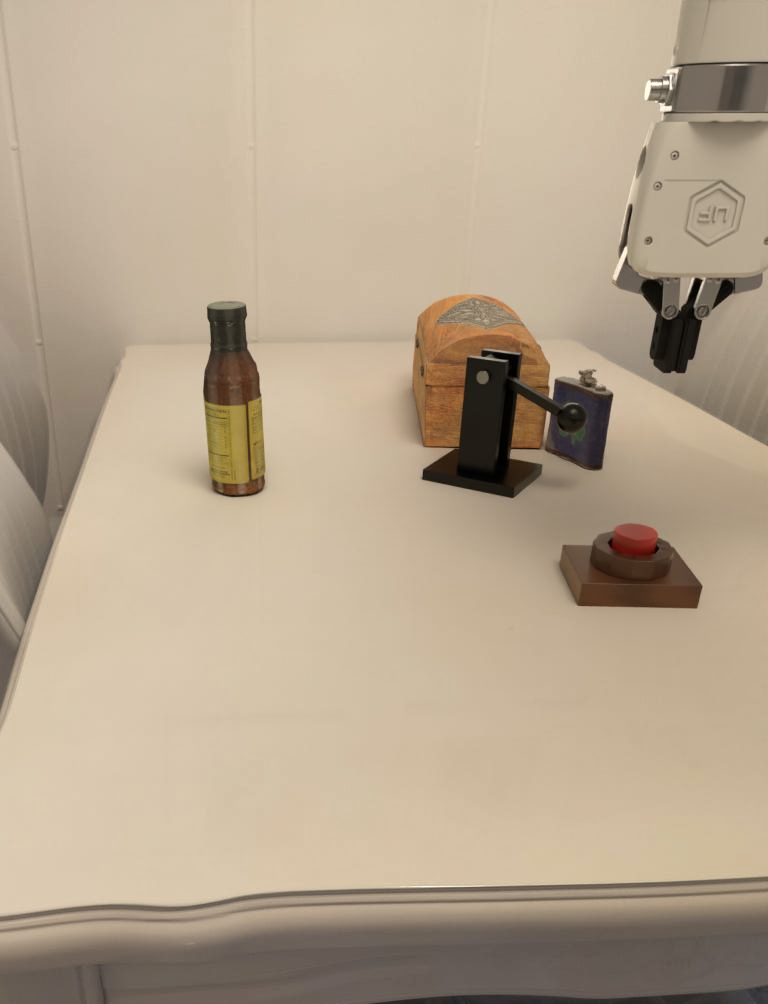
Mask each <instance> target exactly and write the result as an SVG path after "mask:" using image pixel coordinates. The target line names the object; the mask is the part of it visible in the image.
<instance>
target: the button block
mask: <svg viewBox="0 0 768 1004" xmlns="http://www.w3.org/2000/svg"><path fill="white" fill-rule="evenodd" d="M613 533H614V530H611V531H607V532H606V531H605V532H603V533H599V534H598V535H597V536H596V537H595V538H594V540H593V541H592V544H591V545H588V544H587V545H586V544H582V545H581V544H563V545H562V548H561V553H560V559H559V565H558V566H559V568H560V570H561V573H562V576H564V579H565V581H566V583H567V586H568V587H569V590H570V592H571V594H572V596H573V598H574V601H575V603H576V604H577V606H578V607H609V608H648V609H649V608H652V609H656V608H657V609H662V608H663V609H698V607H699V603H700V598H701V596H702V595H701V594H702V591H703V584H702V583H701V581H700V580H699V579H698V577H697V576H696V575H695V574H694V572H693V571H692V570H691V568H690V567H689V566H688V564H687V563H686V562H685V560H684V558H682V556H681V555H680V554H679V552H678V551H677V549H676V548H675V547H674V546H672V545H671V544H670V543H669V541H668V540H667V541H666V540H665V539H662V538H660V537H658V538H657V543H656V548H655V552H654V554H652V555H648V556H633V555H629V554H624V553H620V552H618V551H616V550H614V549H612V548H611V544H612V538H613Z"/></svg>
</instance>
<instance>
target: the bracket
mask: <svg viewBox="0 0 768 1004" xmlns="http://www.w3.org/2000/svg"><path fill="white" fill-rule="evenodd" d="M490 354H492V355H494V356H496V357H497V358H499V359H494V358H486V356H488V355H490ZM521 361H522V353H517V352H509V351H501V350H493V349H483V350H482V352H481V357H478V356H469V357H467V364H466V375H465V386H464V396H463V407H462V418H461V429H460V440H459V447H458V448H456V447H454V449H452V450H450V451H449V452H447V453H445V454H444V455H442V456H441V457H439V458H438V459H436V460H435V461H433V462H432V463H430V464H428V465H427V466H426V467H424V468H423V469H422V475H421V476H422V477H421V479H422V480H425V481H428V482H429V481H430V482H434V483H439V484H443V485H449V486H453V487H458V488H463V489H467V490H474V491H478V492H483V493H488V494H492V495H497V496H502V497H506V498H507V497H508V498H512V499H513V498H515V497H516V496H517V495H518V494H520V493H521V492H522V491H524V490H525V489H526V488H527V487H528V486H529V485H530V484H532V483H533V482H534V481H535V480H536V479H537V478H539V477H540V476H541V475H542V472H543V463H537V462H533V461H532V462H531V461H526V460H521V459H517V458H516V459H515V458H511V450H512V447H511V444H512V436H513V427H514V419H515V411H516V403H517V394H518V393H516V392H514V391H513V390H511V389H509V388H507V387H506V382H507V373H508V364H509V365H511V366H512V368H511V370H510V372H509V374H510V375H512V376H513V377H515V378H517V379H518V380H519V378H520V370H521Z"/></svg>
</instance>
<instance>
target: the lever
mask: <svg viewBox="0 0 768 1004" xmlns="http://www.w3.org/2000/svg"><path fill="white" fill-rule="evenodd" d="M486 358H494V359H499V358H497V357H496V356H494V355H492V354H490V355H488V356H486ZM511 368H512V366H511V365H509V364H508V373H507V382H506V387H507V388H509V389H511V390H513V391H514V392H516V393H518V394H519V395H521V396H523V397H524V398H526V399H528V400H529V401H531V402H533V403H534V404H536V405H538V406H540V407H541V408H543V409H545V410H546V411H547V412H548V413H549V414H550V413H551V414H553V415H555V416H556V422H557V425H558V427H559V429H560V430H562V431H563V432H565V433H568V434H573V433H577V432H579V431H581V430H582V429H583V428H584V427H585V425H586V423H587V420H588V415H587V411H586V410H585V408H584V407H583V406H582V405H580V404H578V403H568V404H566V405H564V406H563V405H561V404H559V403H557V402H556V401H554V400H553V398H551V397H550V396H549V397H547V396H546V395H544V394H542V393H540V392H539V391H537V390H535V389H534V388H532V387H530V386H529V385H527V384H525V383H523V382H522V381H520V380H518V379H517V378H515V377H513V376H512V375H510V374H509V372H510V370H511Z"/></svg>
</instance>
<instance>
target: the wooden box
mask: <svg viewBox="0 0 768 1004" xmlns="http://www.w3.org/2000/svg"><path fill="white" fill-rule="evenodd" d="M418 315H419V316H418V317H417V322H416V332H415V335H414V348H413V360H412V390H413V395H414V400H415V405H416V411H417V418H418V422H419V428H420V434H421V440H422V444H423V446H424V447H445V448H446V447H447V448H449V447H450V448H456V447H458V448H459V440H460V429H461V418H462V407H463V396H464V386H465V375H466V364H467V357H469V356H478V357H481V352H482V350H483V349H493V350H501V351H509V352H517V353H522V361H521V370H520V378H519V380H520V381H522V382H523V383H525V384H527V385H529V386H530V387H532V388H534V389H535V390H537V391H539V392H540V393H542V394H544V395H546V396H547V397H549V398H550V390H551V387H550V385H549V381H550V372H551V364H550V362H549V360H547V358H546V356H545V354H544V351H543V350H542V347H541V345H540V344H539V343H538V342H537V340H536V339H535V338H534V336H533V335H532V332H530V331H529V330H528V327H526V326H525V324H524V323H523V321H522V320H521V318H520V316H519V315H518V313H516V312H515V310H514V309H512V308H511V307H510V306H509V305H507V304H506V303H504V302H503V301H502V300H499V299H497V298H495V297H493V296H488V295H485V294H484V295H483V294H457V295H451V296H448V297H444V298H442V299H440V300H437V301H435V302H433V303H432V304H430V305H429V306H428V307H426V308H425V309H424V310H423V311H422V312H421V313H420V314H418ZM547 412H548V411H546V410H545V409H543V408H541V407H540V406H538V405H536V404H534V403H533V402H531V401H529V400H528V399H526V398H524V397H523V396H521V395H519V394H517V403H516V411H515V419H514V427H513V436H512V444H511V449H513V448H518V449H519V448H520V449H521V448H522V449H541V448H542V446H543V441H544V436H545V435H544V434H545V428H546V420H547Z"/></svg>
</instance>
